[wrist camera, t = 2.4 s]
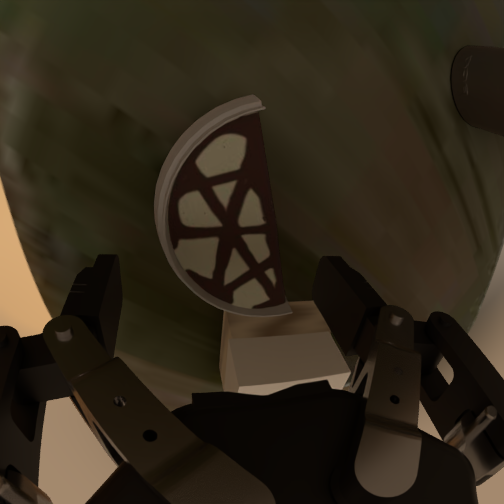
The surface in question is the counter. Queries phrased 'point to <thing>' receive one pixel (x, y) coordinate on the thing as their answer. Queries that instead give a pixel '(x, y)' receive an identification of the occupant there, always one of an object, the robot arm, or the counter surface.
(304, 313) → the tower base block
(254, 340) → the tower top block
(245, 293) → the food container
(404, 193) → the counter surface
